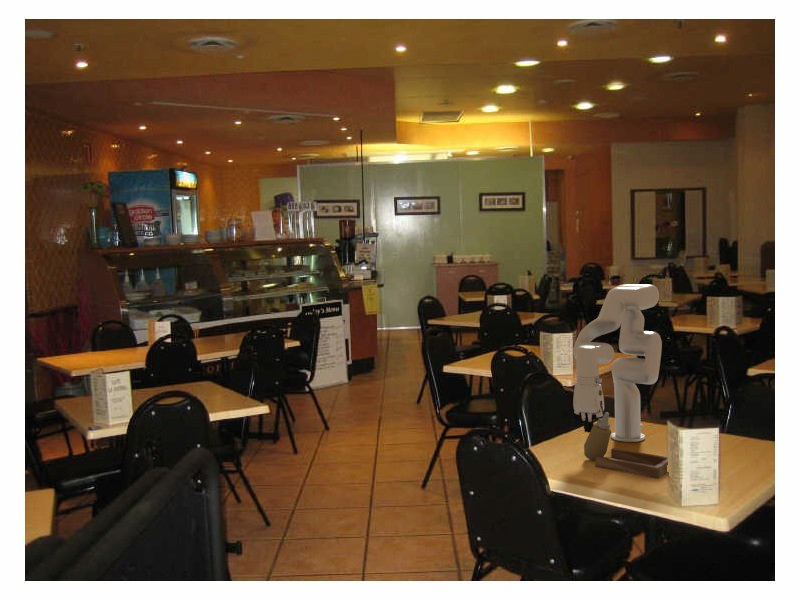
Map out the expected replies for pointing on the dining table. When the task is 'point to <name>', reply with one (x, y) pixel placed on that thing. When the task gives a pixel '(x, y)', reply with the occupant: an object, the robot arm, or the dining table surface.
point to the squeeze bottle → (598, 439)
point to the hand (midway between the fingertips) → (588, 431)
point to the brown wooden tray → (634, 463)
